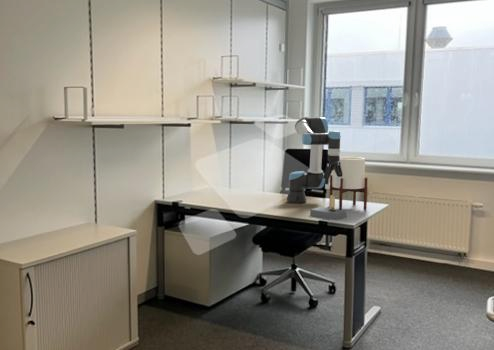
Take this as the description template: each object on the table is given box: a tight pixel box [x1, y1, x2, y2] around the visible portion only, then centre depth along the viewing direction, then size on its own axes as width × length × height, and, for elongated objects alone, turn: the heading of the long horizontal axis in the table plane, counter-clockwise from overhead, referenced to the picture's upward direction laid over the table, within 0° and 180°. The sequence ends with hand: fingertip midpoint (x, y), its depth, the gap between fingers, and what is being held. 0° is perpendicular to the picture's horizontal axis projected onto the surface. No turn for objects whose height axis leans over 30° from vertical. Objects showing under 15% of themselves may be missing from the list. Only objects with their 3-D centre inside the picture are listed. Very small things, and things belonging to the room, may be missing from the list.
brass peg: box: [329, 194, 336, 212], centre depth 316 cm, size 3×3×14 cm
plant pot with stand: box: [329, 156, 368, 211], centre depth 346 cm, size 22×22×36 cm
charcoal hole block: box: [309, 206, 348, 220], centre depth 318 cm, size 20×12×4 cm, turn 50°
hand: (332, 187), depth 314 cm, fingers open, 13 cm apart
